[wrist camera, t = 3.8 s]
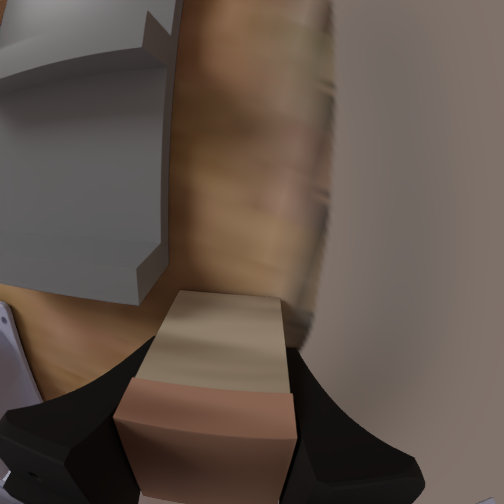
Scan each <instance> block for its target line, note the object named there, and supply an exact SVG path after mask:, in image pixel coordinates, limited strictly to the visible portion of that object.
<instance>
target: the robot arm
mask: <svg viewBox="0 0 504 504" xmlns="http://www.w3.org/2000/svg"><path fill="white" fill-rule="evenodd" d="M155 337H156V336H153V337H152V338H151V339H150V340H148V341H147V342H146V343H145V344H143V345H142V346H141V347H140V348H139V349H137V350H136V351H135V352H134V353H132V354H131V355H130V356H129V357H127V358H126V359H125V360H124V361H122V362H121V363H120V364H118V365H117V366H115V367H114V368H113V369H111V370H110V371H108V372H107V373H105V374H104V375H102V376H101V377H99V378H98V379H96V380H94V381H92V382H91V383H89V384H87V385H85V386H83V387H81V388H79V389H77V390H75V391H72V392H70V393H68V394H65V395H63V396H61V397H58V398H55V399H52V400H49V401H46V402H43V400H42V398H41V395H40V393H39V391H38V388H37V386H36V383H35V381H34V378H33V376H32V373H31V371H30V368H29V365H28V362H27V360H26V357H25V354H24V351H23V348H22V345H21V342H20V339H19V336H18V333H17V329H16V326H15V322H14V319H13V315H12V312H11V309H10V307H9V305H8V304H6V303H5V302H2V301H0V504H138V501H139V495H140V487H139V485H138V483H137V480H136V478H135V476H134V473H133V471H132V468H131V466H130V463H129V461H128V458H127V455H126V453H125V450H124V447H123V445H122V442H121V439H120V436H119V433H118V431H117V428H116V425H115V422H114V419H113V416H114V414H115V412H116V410H117V408H118V405H119V403H120V401H121V399H122V397H123V395H124V393H125V391H126V389H127V387H128V385H129V383H130V381H131V379H132V377H134V378H135V377H136V375H137V373H138V371H139V369H140V366H141V364H142V362H143V360H144V358H145V356H146V354H147V352H148V350H149V348H150V346H151V344H152V342H153V341H154V339H155ZM285 348H286V358H287V367H288V377H289V387H290V393H293V402H294V412H295V421H296V431H297V441H296V444H295V448H294V452H293V455H292V458H291V462H290V465H289V469H288V472H287V475H286V479H285V482H284V485H283V488H282V491H281V494H280V497H279V504H412V503H413V502H414V501H415V500H416V499H417V498H418V497H419V495H420V494H421V493H422V491H423V490H424V488H425V480H424V478H423V475H422V472H421V470H420V467H419V466H418V464H417V462H416V460H415V458H414V457H412V456H410V455H408V454H406V453H404V452H402V451H400V450H398V449H396V448H393V447H392V446H390V445H388V444H386V443H385V442H383V441H381V440H380V439H378V438H376V437H375V436H374V435H372V434H371V433H369V432H368V431H366V430H365V429H364V428H362V427H361V426H359V424H357V423H356V422H355V421H353V420H352V419H351V418H350V417H349V416H348V415H347V414H346V413H345V412H343V410H341V409H340V408H339V407H338V405H337V404H336V403H335V402H334V401H333V400H332V399H331V398H330V397H329V395H328V394H327V393H326V392H325V391H324V389H323V388H322V387H321V385H320V384H319V383H318V381H317V380H316V379H315V377H314V376H313V374H312V373H311V372H310V370H309V369H308V367H307V365H306V364H305V362H304V361H303V359H302V358H301V355H300V354H299V352H298V350H297V349H296V348H291V347H285ZM9 470H10V471H11V473H10V475H9V477H8V478H7V480H6V482H5V481H3V480H2V479H3V478H4V477H5V475H6V474H7V473H8V471H9ZM477 504H496V502H495V500H494V498H493V497H490V498H488V499H486V500H484V501H481V502H479V503H477Z"/></svg>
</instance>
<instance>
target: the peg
mask: <svg viewBox="0 0 504 504" xmlns="http://www.w3.org/2000/svg"><path fill="white" fill-rule="evenodd" d="M113 419H114V422H115V425H116V428H117V431H118V433H119V436H120V439H121V442H122V445H123V447H124V450H125V453H126V455H127V458H128V461H129V463H130V466H131V468H132V471H133V473H134V476H135V478H136V480H137V483H138V485H139V487H140V490H141V492H142V494H143V495H144V496H148V497H152V498H158V499H162V500H168V501H173V502H179V503H185V504H278V500H279V497H280V494H281V491H282V488H283V485H284V482H285V479H286V475H287V472H288V469H289V465H290V462H291V458H292V455H293V452H294V448H295V444H296V441H297V431H296V421H295V412H294V402H293V393H290V387H289V377H288V367H287V358H286V348H285V339H284V330H283V321H282V312H281V303H280V298H277V297H261V296H246V295H233V294H220V293H208V292H196V291H185V290H179V292H178V294H177V296H176V298H175V300H174V302H173V304H172V306H171V307H170V309H169V311H168V313H167V315H166V317H165V319H164V321H163V323H162V325H161V327H160V329H159V331H158V333H157V335H156V337H155V339H154V341H153V342H152V344H151V346H150V348H149V350H148V352H147V354H146V356H145V358H144V360H143V362H142V364H141V366H140V369H139V371H138V373H137V375H136V377H135V378H134V377H132V379H131V381H130V383H129V385H128V387H127V389H126V391H125V393H124V395H123V397H122V399H121V401H120V403H119V405H118V408H117V410H116V412H115V414H114V416H113Z"/></svg>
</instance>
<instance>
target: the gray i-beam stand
mask: <svg viewBox="0 0 504 504" xmlns="http://www.w3.org/2000/svg"><path fill="white" fill-rule="evenodd" d="M183 1H184V0H8V1H7V4H6V8H5V11H4V15H3V19H2V23H1V27H0V283H1V284H6V285H11V286H16V287H21V288H26V289H32V290H37V291H43V292H49V293H54V294H60V295H66V296H73V297H79V298H86V299H92V300H99V301H106V302H114V303H121V304H129V305H137V306H139V305H140V304H141V303H142V301H143V300H144V298H145V297H146V295H147V294H148V293H149V291H150V290H151V288H152V287H153V286H154V284H155V283H156V282H157V280H158V279H159V277H160V276H161V275H162V273H163V272H164V271H165V269H166V268H167V266H168V265H169V244H168V193H169V155H170V133H171V116H172V101H173V88H174V77H175V66H176V56H177V47H178V38H179V30H180V22H181V15H182V8H183Z"/></svg>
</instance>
